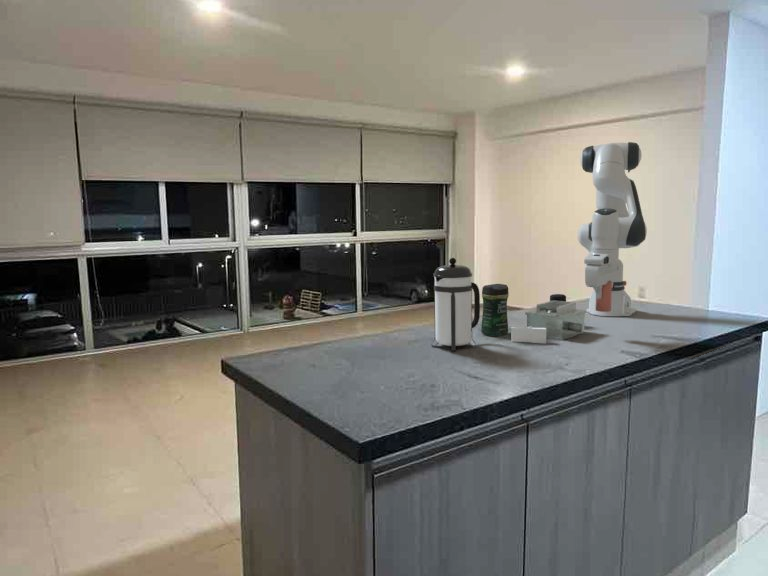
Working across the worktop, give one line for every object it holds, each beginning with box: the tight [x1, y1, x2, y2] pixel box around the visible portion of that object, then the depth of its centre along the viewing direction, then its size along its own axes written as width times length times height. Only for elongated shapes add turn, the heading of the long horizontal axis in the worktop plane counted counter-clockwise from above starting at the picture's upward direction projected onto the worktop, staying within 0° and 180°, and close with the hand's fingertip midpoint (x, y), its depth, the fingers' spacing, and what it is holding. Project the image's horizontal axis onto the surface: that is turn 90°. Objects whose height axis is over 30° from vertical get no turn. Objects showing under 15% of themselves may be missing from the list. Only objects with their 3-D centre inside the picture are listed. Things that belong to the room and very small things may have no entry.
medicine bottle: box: [549, 293, 567, 302], centre depth 213 cm, size 7×7×12 cm
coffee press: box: [430, 257, 481, 352], centre depth 183 cm, size 17×16×30 cm
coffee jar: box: [480, 283, 509, 337], centre depth 199 cm, size 10×8×19 cm
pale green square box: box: [524, 300, 587, 341], centre depth 197 cm, size 17×18×11 cm
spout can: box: [596, 280, 612, 312], centre depth 188 cm, size 5×5×13 cm
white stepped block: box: [510, 326, 547, 344], centre depth 187 cm, size 15×11×6 cm
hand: (603, 296), depth 188 cm, fingers closed on spout can, 5 cm apart
